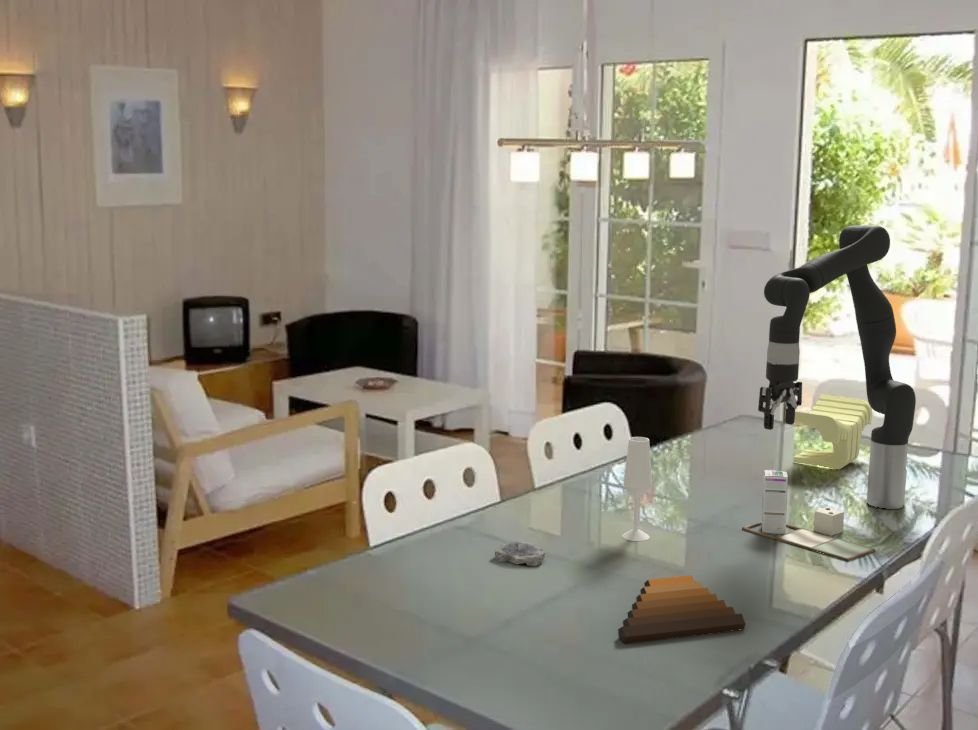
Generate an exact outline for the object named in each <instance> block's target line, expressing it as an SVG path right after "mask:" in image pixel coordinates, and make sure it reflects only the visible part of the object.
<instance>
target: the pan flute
mask: <svg viewBox="0 0 978 730" xmlns="http://www.w3.org/2000/svg"><path fill="white" fill-rule="evenodd" d="M639 592H640V594H639V595H637V596H636V597H635V598H636V599H635V601H636V602H633V603H632V604H631V610H629V611H628V612H627V618H625V619H623V620H622V624H623V625H622V626H621V627H620V628H617V633H618V639H619V640H620V641H621V642H622V643H623V644H624V645H625V644H627V645H628V644H634V643H635V644H636V643H643V642H652V641H660V640H661V641H662V640H668V639H669V638H670V639H677V638H676V637H679V638H686V637H685V636H687V637H694V636H693V635H696V636H701V635H702V634H704V635H709V634H708V633H713V634H719V633H718V632H721V633H726V632H725V631H730V632H732V631H731V630H739V629H744V630H745V628H746V623H747V622H746V620H745V618H744V616H743V614H742V613H736V611H735V609H734V606H727V604H726V602H725V599H721V600H719V599H718V596H717V594H716V593H710V590H709V588H708V587H702V585H701V582H700V581H694V578H693V575H691V574H690V575H684V576H683V575H682V576H672V577H663V578H662V577H661V578H653V579H652V578H651V579H647V580H646V581H644V586H643V588H641V589H640V590H639ZM739 631H740V630H739ZM702 636H703V635H702Z"/></svg>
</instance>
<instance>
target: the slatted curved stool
mask: <svg viewBox="0 0 978 730" xmlns="http://www.w3.org/2000/svg"><path fill="white" fill-rule="evenodd" d="M785 413H786V409H785V412H784V414H785ZM872 414H873V409H872V408H871V406H870V405H869V402H868V400H865V399H862V398H855V397H850V396H849V397H848V396H840V395H833V394H825V393H820V396H819V398H818V399H817V401H816V403H815V405H814V406H813V407H812V408H811V410H810V411H809V412H803V411H802V412H801V411H795V420H794V424H795V425H801V426H806V427H809V428H813V429H816V430H817V431H818V433H819V434H820V435H821V439H822V442H825V443H832V444H831V445H832V447H833V451H822V450H821V451H820V450H814V449H813V450H812V449H808V448H807V449H805V450H804V451H802V452H800V453H798V454H797V455H794V457H793V461H792V463H793V462H797V463H805V464H812V465H819V466H824V467H829V468H833V469H838V470H840V469H843V468H844V467H846V466H847V465H849V464H850V463H852V462H854V461H855V460H856V459H858V457H859V454H860V447H861V443H862V435H863V431H864V430H865V428H866V426H868V425H872V416H873V415H872ZM838 470H837V471H838Z"/></svg>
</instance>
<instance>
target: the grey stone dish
mask: <svg viewBox="0 0 978 730" xmlns="http://www.w3.org/2000/svg"><path fill="white" fill-rule="evenodd" d="M545 554H546V551H544V550H543V548H540V547H538V546H536V545H535V544H533V543H530V542H527V541H526V542H525V541H515V542H510V543H508V542H507V543H505V544H504V543H503V544H500V545H499V547H497V548H496V549H494V558H495V559H496V560H497V561H498V562H501V563H505V562H507V561H508V562H510V563H512V564H515V565H518V564H526V565H527V566H531V567H538V566H541V565H542V564H543V560H544V559H545Z"/></svg>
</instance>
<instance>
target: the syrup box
mask: <svg viewBox="0 0 978 730" xmlns="http://www.w3.org/2000/svg"><path fill="white" fill-rule="evenodd" d="M788 477H789V476H788V471H786V470H781V469H780V470H779V469H766V470H765V469H764V470H763V479H762V480H763V482H762V505H761V506H762V508H761V509H762V510H761V521H762V524H761V532H762V533H765V534H771V535H772V534H775V535H783V534H786V533H787V532H786V531H787V526H786V524H787V512H788V481H789V480H788V479H789V478H788Z"/></svg>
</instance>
